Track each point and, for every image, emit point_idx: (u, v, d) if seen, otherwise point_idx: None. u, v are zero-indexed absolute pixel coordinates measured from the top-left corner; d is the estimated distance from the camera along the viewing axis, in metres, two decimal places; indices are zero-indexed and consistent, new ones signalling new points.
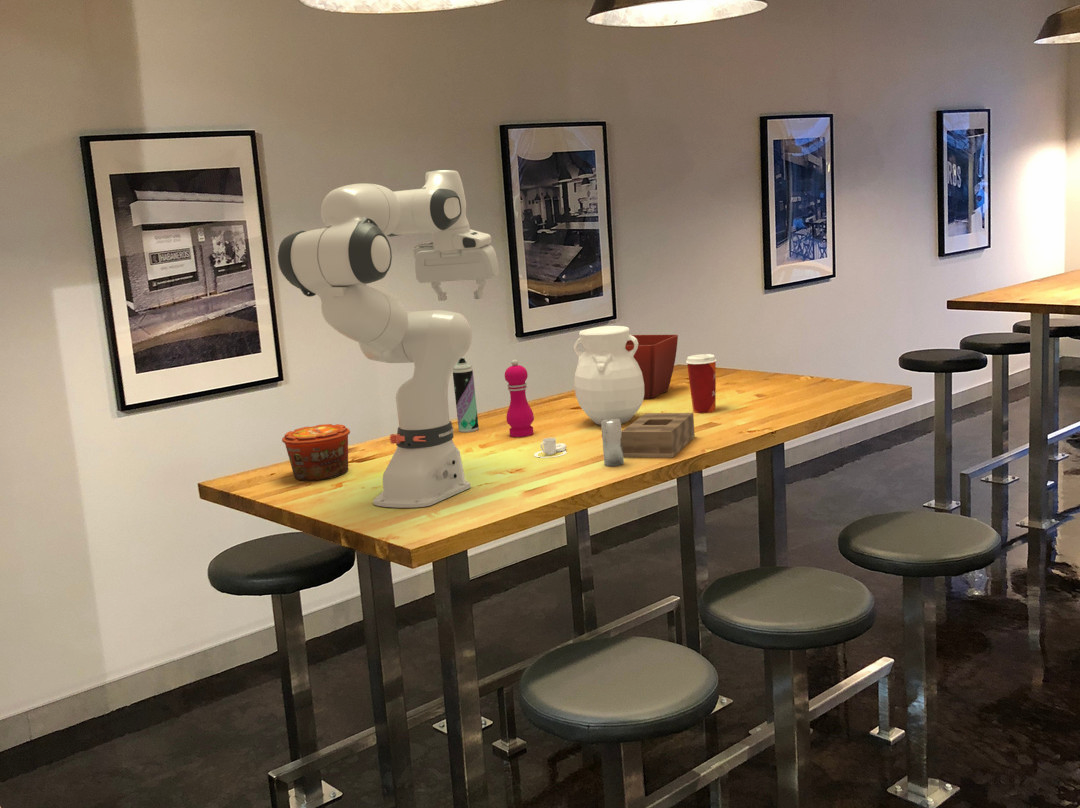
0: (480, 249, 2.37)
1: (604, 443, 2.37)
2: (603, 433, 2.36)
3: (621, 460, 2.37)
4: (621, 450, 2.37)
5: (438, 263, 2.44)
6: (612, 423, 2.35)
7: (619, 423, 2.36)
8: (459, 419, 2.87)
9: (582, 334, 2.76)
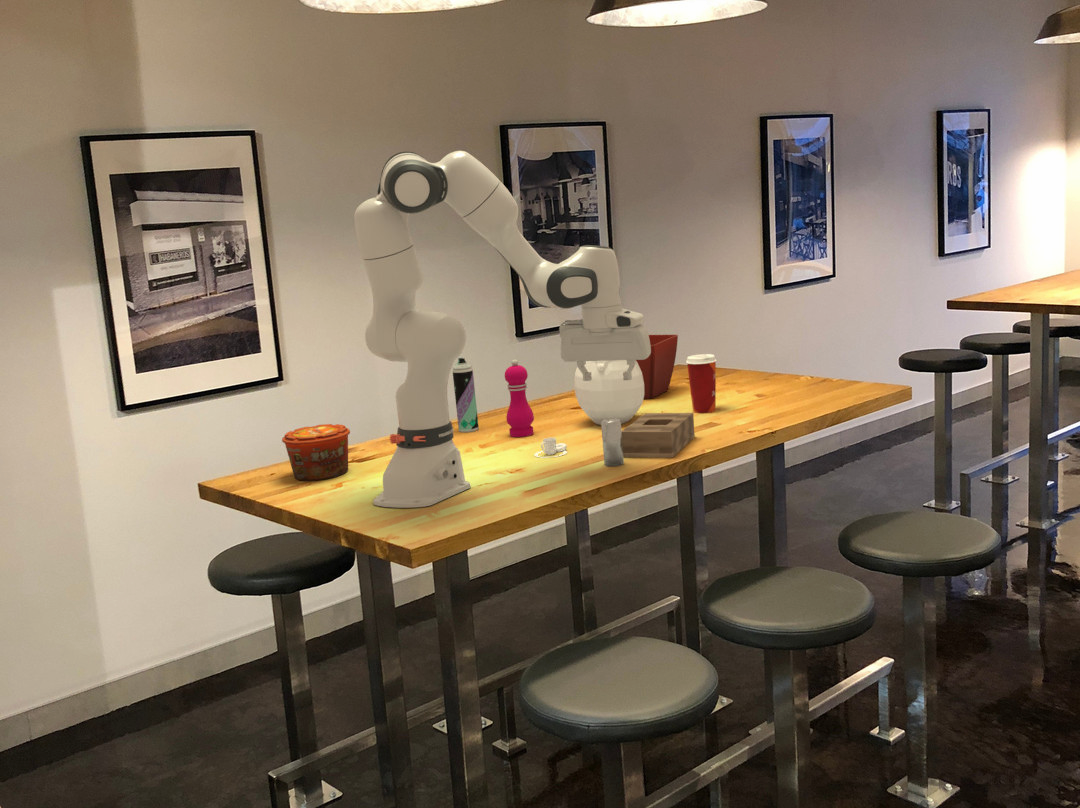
0: (634, 328, 2.27)
1: (604, 443, 2.37)
2: (603, 433, 2.36)
3: (621, 460, 2.37)
4: (621, 450, 2.37)
5: (586, 342, 2.33)
6: (612, 423, 2.35)
7: (619, 423, 2.36)
8: (459, 419, 2.87)
9: None
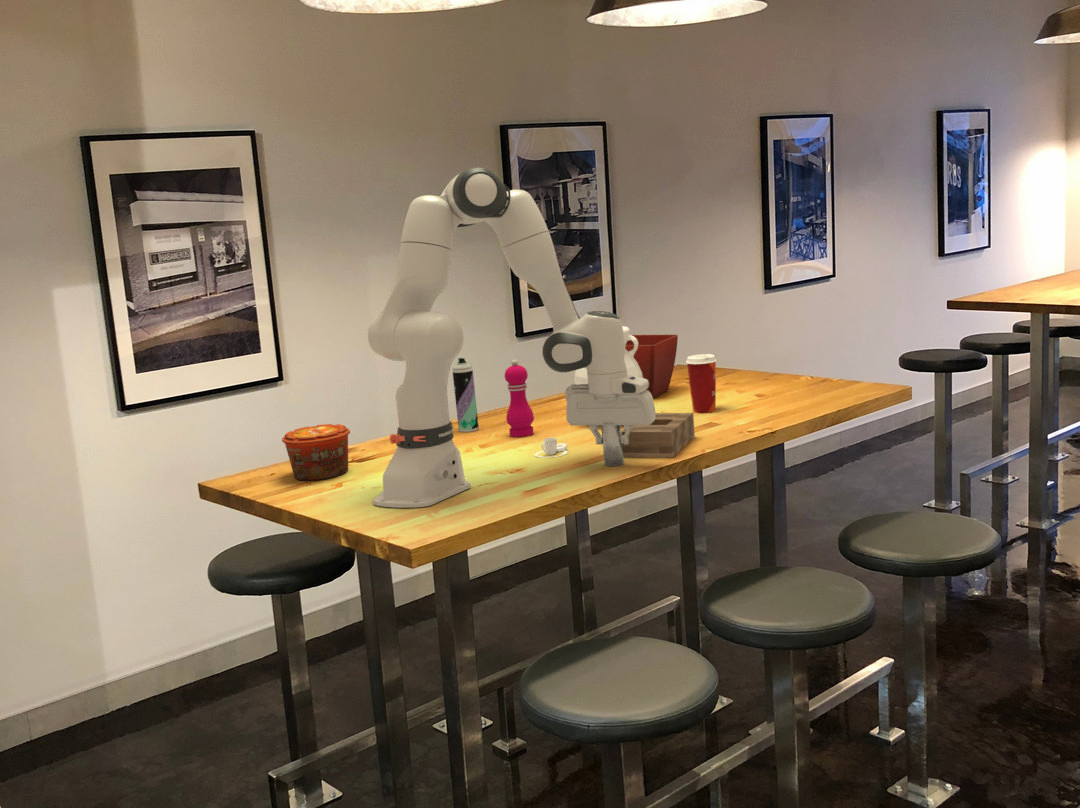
0: (640, 395, 2.30)
1: (604, 443, 2.37)
2: (603, 433, 2.36)
3: (621, 460, 2.37)
4: (621, 450, 2.37)
5: (592, 406, 2.36)
6: (612, 423, 2.35)
7: None
8: (459, 419, 2.87)
9: None
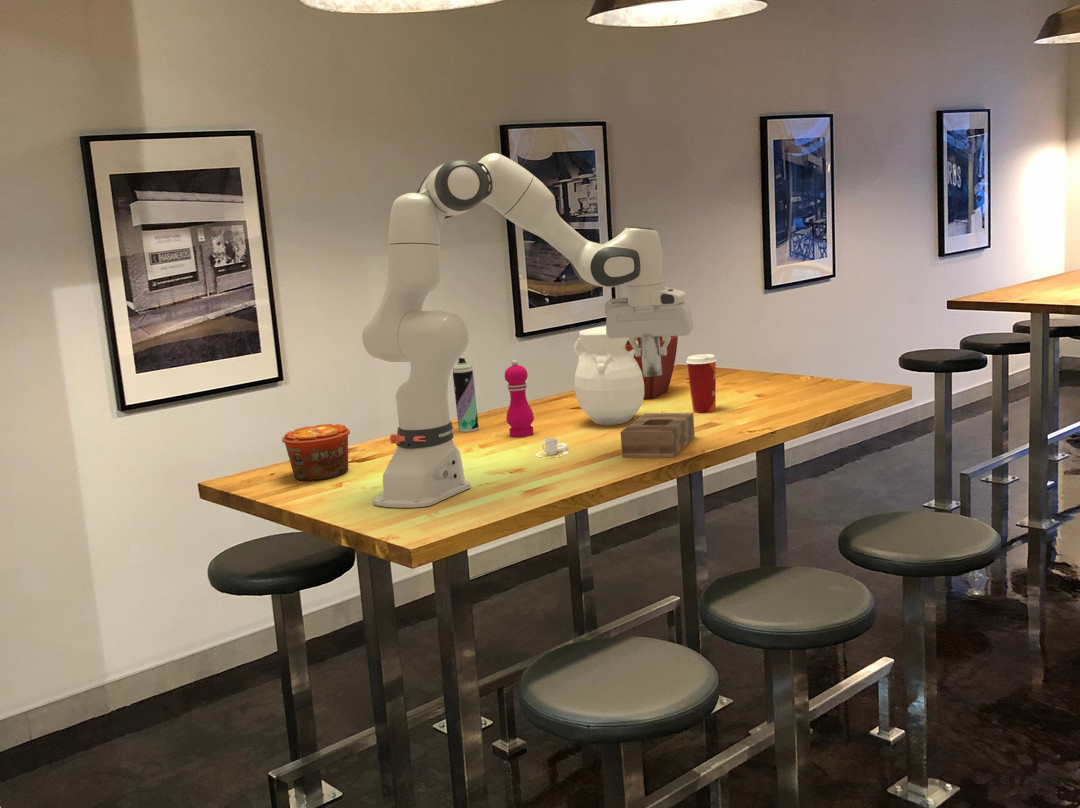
0: (678, 305, 2.38)
1: (643, 354, 2.45)
2: (642, 344, 2.44)
3: (660, 371, 2.45)
4: (659, 361, 2.45)
5: (631, 319, 2.44)
6: (651, 334, 2.43)
7: None
8: (459, 419, 2.87)
9: (582, 334, 2.76)
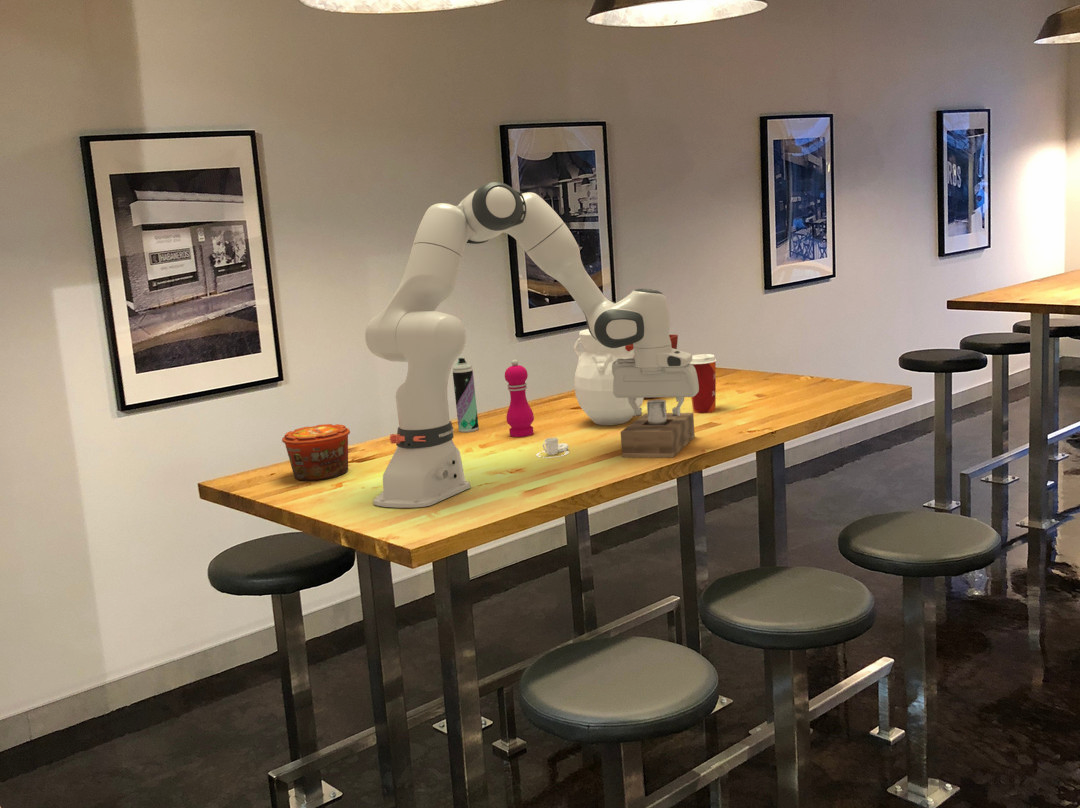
0: (684, 368, 2.42)
1: (650, 422, 2.48)
2: (649, 413, 2.48)
3: None
4: None
5: (638, 379, 2.48)
6: (658, 403, 2.47)
7: (664, 403, 2.48)
8: (459, 419, 2.87)
9: (582, 334, 2.76)
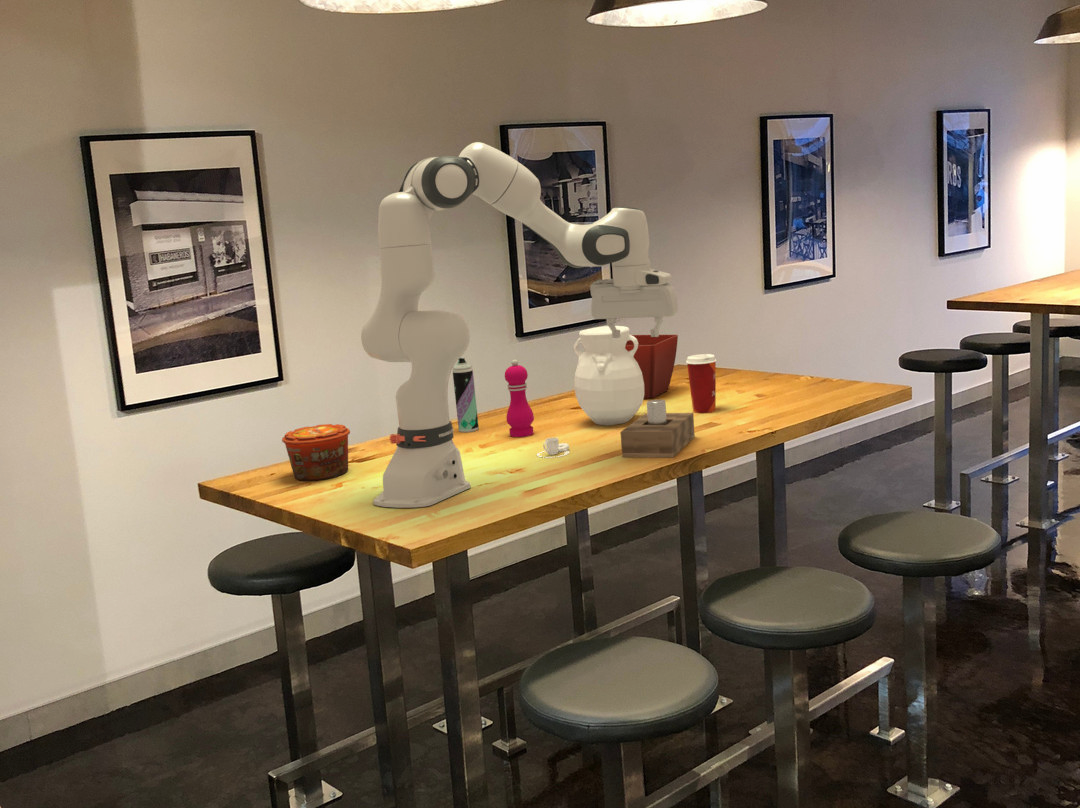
0: (662, 286, 2.39)
1: (650, 422, 2.48)
2: (649, 413, 2.48)
3: None
4: None
5: (616, 300, 2.45)
6: (657, 403, 2.47)
7: (664, 403, 2.48)
8: (459, 419, 2.87)
9: (582, 334, 2.76)
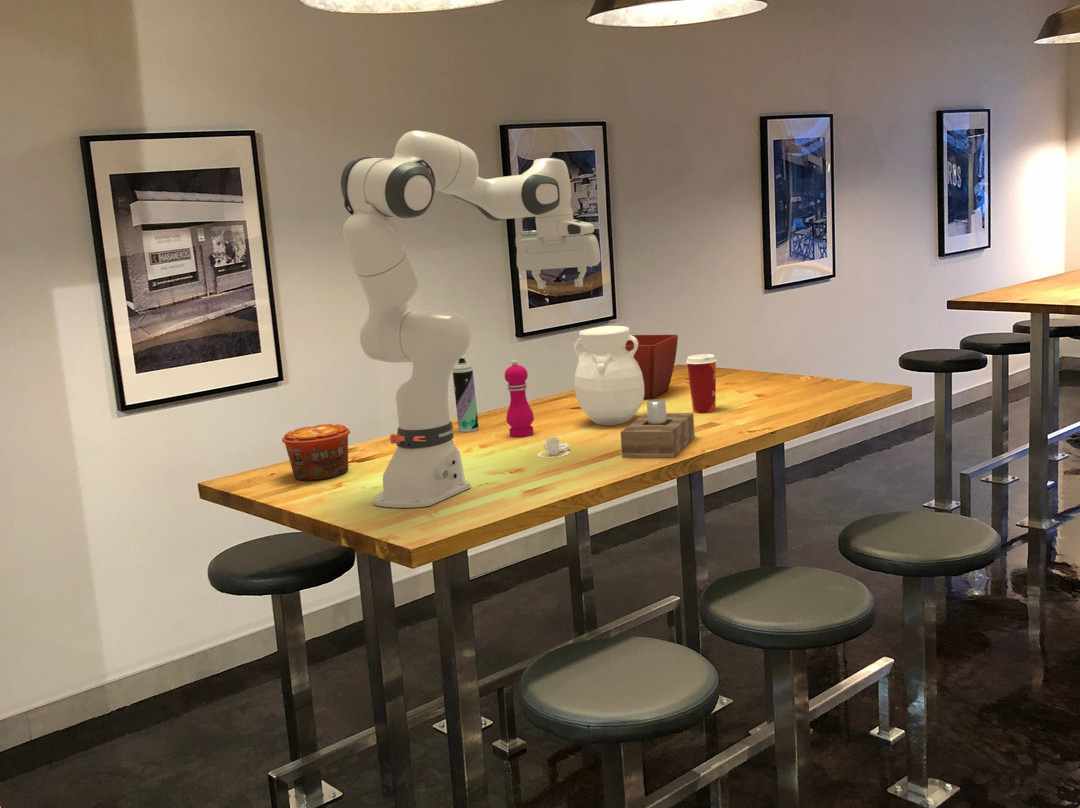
0: (584, 236, 2.42)
1: (650, 422, 2.48)
2: (649, 413, 2.48)
3: None
4: None
5: (540, 251, 2.48)
6: (657, 403, 2.47)
7: (664, 403, 2.48)
8: (459, 419, 2.87)
9: (582, 334, 2.76)
